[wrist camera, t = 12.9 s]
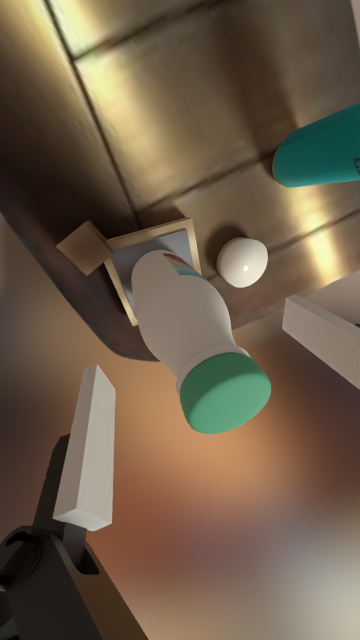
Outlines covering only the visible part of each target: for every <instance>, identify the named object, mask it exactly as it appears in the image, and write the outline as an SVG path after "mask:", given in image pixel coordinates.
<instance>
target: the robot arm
mask: <svg viewBox="0 0 360 640" xmlns="http://www.w3.org/2000/svg"><path fill="white" fill-rule="evenodd" d="M282 329H283V330H284V331H286V332H287V333H288V334H289V335H291V336H292V337H293V338H295V339H296V340H297V341H298V342H300V343H301V344H302V345H303V346H305V347H306V348H307V349H309V350H310V351H311V352H312V353H314V354H315V355H316V356H317V357H319V358H320V359H321V360H323V361H324V362H325V363H326V364H328V365H329V366H330V367H332V368H333V369H334V370H335V371H337V372H338V373H339V374H340V375H342V376H343V377H344V378H346V379H347V380H348V381H349V382H351V383H352V384H353V385H354V386H356V387H357V388H358V389H360V325H359V324H355V325H353V324H351V323H349V322H347V321H346V320H344V319H342V318H340V317H338V316H336V315H334V314H332V313H330V312H328V311H327V310H325V309H323V308H321V307H319V306H317V305H315V304H313V303H311V302H310V301H308V300H306V299H304V298H302V297H300V296H298V295H293V296H290V297H287V298H286V303H285V311H284V319H283V326H282ZM114 421H115V389H114V387H113V386H112V384H111V383H110V382H109V380H108V379H107V377H106V376H105V375H104V373H103V372H102V370H101V369H100V368H99V366H98V365H97V364H95V365H93V366H90V367H87V368H85V369H84V374H83V378H82V383H81V388H80V393H79V398H78V402H77V406H76V411H75V416H74V420H73V425H72V430H71V433H70V434H67V435H65V436H62V437H60V439H59V441H58V442H57V444H56V446H55V448H54V449H53V452H52V455H51V459H50V463H49V465H50V466H49V467H48V470H47V474H46V479H45V481H44V485H43V488H42V492H41V496H40V500H39V503H38V507H37V511H36V514H35V518H34V522H33V525H32V526H20V527H19V528H17V529H15V530H13V531H12V532H11V533H10V534H9V535H8V536H7V537H6V538H5V539H4V540H3V541H2V543H1V544H0V640H148V638H147V636H146V635H145V633H144V632H143V630H142V628H141V627H140V625H139V624H138V622H137V620H136V619H135V617H134V616H133V614H132V612H131V611H130V609H129V608H128V606H127V604H126V603H125V601H124V600H123V598H122V597H121V595H120V593H119V592H118V590H117V588H116V587H115V585H114V583H113V582H112V580H111V579H110V577H109V575H108V574H107V572H106V571H105V569H104V567H103V566H102V564H101V563H100V561H99V559H98V558H97V556H96V555H95V553H94V551H93V550H92V548H91V547H90V545H89V543H88V542H87V541H85V538H86V529H88V530H91V531H95V530H98V529H100V528H102V527H104V526H106V525H109V524H111V523H112V499H113V458H114Z"/></svg>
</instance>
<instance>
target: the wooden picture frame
mask: <svg viewBox="0 0 360 640" xmlns="http://www.w3.org/2000/svg"><path fill="white" fill-rule="evenodd" d="M106 244H107V245H108V246H109V247H110V249H111V250H112V251H113V255H112V256H111V257H110V258H109V259H107V260H106V261H105V262H104V264H105V266H106V268H107V270H108V273H109V275H110V277H111V279H112V281H113V284H114V286H115V288H116V290H117V292H118V295H119V297H120V299H121V301H122V303H123V306H124V308H125V310H126V312H127V314H128V317H129V319H130V321H131V323H132V325H133V326H135V325H138V320H137V315H136V309H135V303H134V297H133V290H132V281H131V277H132V271H133V268H134V266H135V264H136V263H137V261H138V260H139V259H140V258H141V257H142V256H143V255H145V254H147V253H149V252H151V251H155V250H167V251H170V252H173V253H174V254H176V255H178V256H179V257H180V258H182V259H183V260H184V261H185V262H186V263H188V264H189V265H190V266H191V267H192V268H193V269H195V270H196V271H197V272H198V273H199V274H200V275H201V269H200V263H199V257H198V251H197V245H196V239H195V232H194V226H193V220H192V218H188V217H186V218H182V219H179V220H175V221H172V222H168V223H165V224H161V225H158V226H154V227H151V228H147V229H144V230H140V231H137V232H133V233H130V234H126V235H123V236H119V237H116V238H112V239H109V240H107V241H106ZM201 276H202V275H201Z"/></svg>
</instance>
